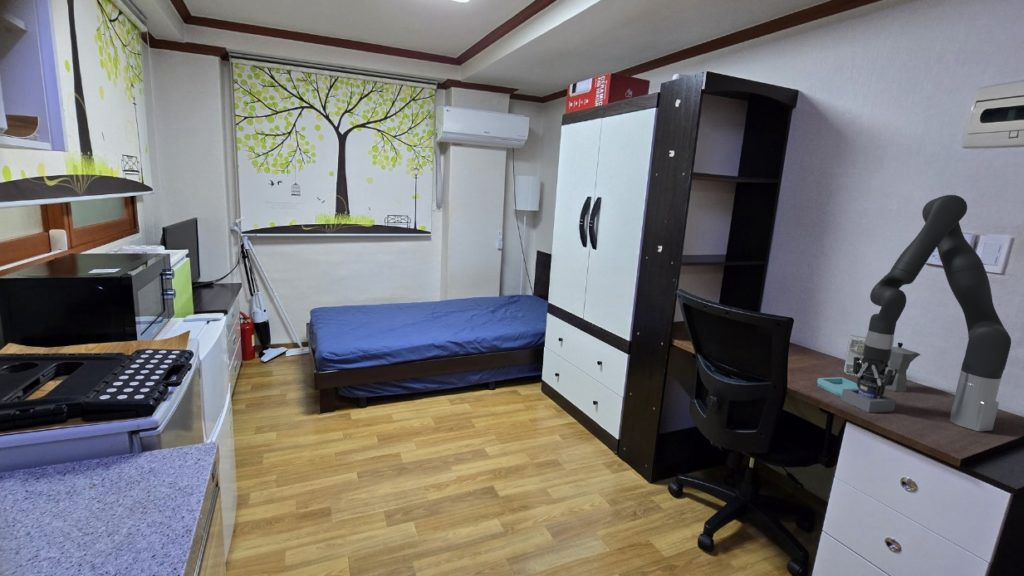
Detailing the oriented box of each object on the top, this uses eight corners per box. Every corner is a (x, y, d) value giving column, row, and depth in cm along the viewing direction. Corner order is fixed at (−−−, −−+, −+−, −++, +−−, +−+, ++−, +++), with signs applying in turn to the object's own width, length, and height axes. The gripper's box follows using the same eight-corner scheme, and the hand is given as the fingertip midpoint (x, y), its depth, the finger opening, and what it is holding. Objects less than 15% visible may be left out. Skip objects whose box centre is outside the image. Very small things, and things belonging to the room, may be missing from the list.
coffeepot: (908, 386, 186) (917, 342, 183) (917, 395, 177) (927, 348, 174) (860, 379, 192) (869, 336, 188) (867, 387, 183) (876, 342, 180)
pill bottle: (853, 404, 166) (859, 374, 164) (858, 400, 170) (864, 370, 168) (875, 410, 161) (881, 379, 159) (879, 406, 165) (885, 376, 163)
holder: (893, 411, 162) (895, 400, 161) (868, 412, 159) (870, 401, 159) (865, 398, 172) (867, 387, 171) (840, 399, 169) (842, 389, 169)
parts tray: (866, 396, 174) (868, 388, 173) (841, 397, 172) (843, 389, 171) (840, 384, 184) (841, 377, 184) (816, 385, 182) (818, 378, 182)
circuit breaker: (865, 368, 205) (871, 335, 203) (866, 378, 194) (873, 342, 191) (844, 364, 209) (850, 331, 207) (844, 373, 198) (850, 338, 195)
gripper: (908, 351, 155) (898, 399, 158) (867, 338, 169) (859, 383, 172) (890, 351, 154) (880, 400, 157) (850, 338, 168) (842, 384, 171)
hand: (869, 391), depth 165 cm, fingers closed on pill bottle, 6 cm apart
